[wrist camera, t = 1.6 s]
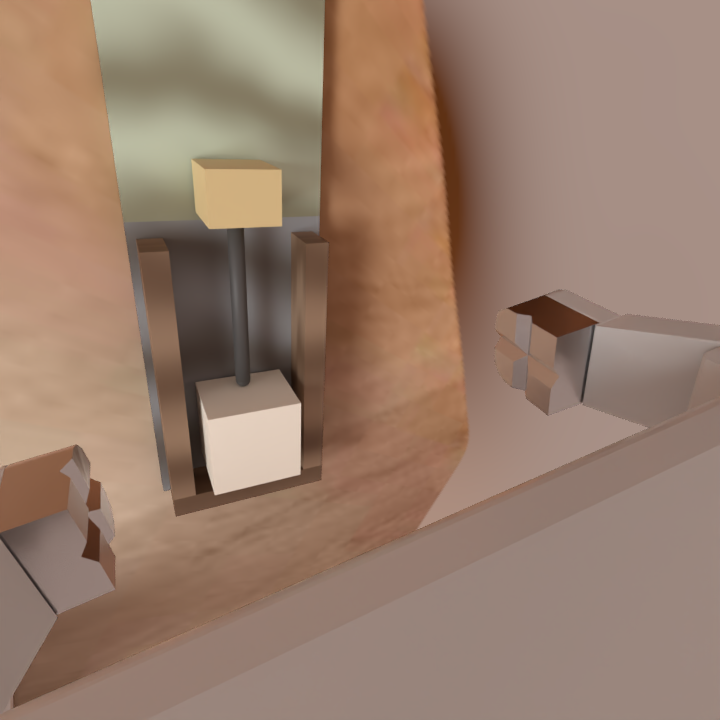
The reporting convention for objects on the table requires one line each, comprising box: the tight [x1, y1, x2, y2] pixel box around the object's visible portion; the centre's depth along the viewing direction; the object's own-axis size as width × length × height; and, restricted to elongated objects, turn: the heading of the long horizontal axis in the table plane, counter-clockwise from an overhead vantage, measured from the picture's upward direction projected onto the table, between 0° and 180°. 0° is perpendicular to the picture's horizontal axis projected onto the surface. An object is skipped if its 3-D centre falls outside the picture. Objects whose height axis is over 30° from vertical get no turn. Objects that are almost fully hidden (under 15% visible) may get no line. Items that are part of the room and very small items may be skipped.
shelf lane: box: [91, 0, 329, 516], centre depth 32 cm, size 33×12×4 cm, turn 177°
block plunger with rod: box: [191, 159, 301, 495], centre depth 33 cm, size 20×6×5 cm, turn 177°
